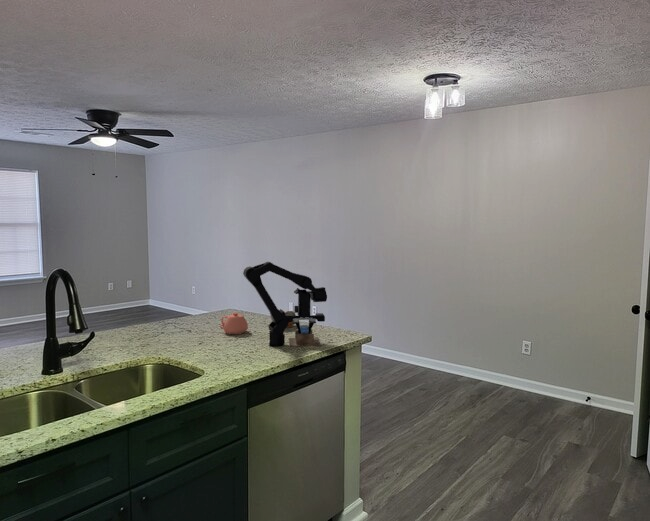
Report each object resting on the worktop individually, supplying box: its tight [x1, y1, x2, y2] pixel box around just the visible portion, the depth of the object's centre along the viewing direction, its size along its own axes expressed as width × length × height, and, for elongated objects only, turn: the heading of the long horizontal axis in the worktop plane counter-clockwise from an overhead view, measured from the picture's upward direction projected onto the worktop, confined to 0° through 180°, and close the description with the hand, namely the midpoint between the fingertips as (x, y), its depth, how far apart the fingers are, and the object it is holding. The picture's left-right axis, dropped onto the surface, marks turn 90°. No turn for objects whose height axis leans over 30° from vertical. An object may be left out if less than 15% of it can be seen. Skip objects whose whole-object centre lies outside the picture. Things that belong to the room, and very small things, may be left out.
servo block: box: [300, 324, 309, 334], centre depth 215 cm, size 3×9×6 cm, turn 7°
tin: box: [284, 310, 297, 329], centre depth 245 cm, size 15×3×8 cm, turn 143°
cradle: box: [288, 328, 322, 348], centre depth 215 cm, size 14×14×5 cm
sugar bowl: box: [219, 312, 249, 335], centre depth 233 cm, size 12×14×10 cm
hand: (304, 335), depth 215 cm, fingers closed on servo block, 3 cm apart
